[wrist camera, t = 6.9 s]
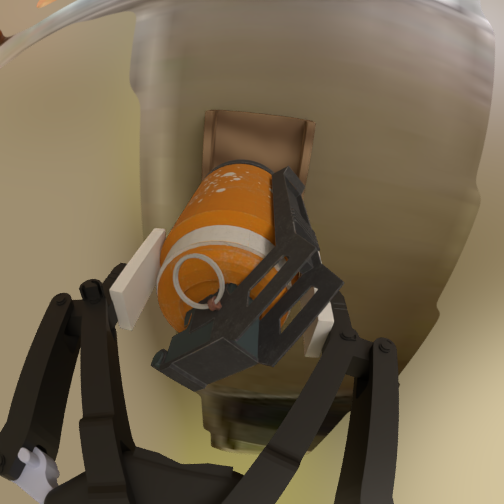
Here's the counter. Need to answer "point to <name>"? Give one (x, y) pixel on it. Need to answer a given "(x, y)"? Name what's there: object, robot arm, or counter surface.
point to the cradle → (257, 141)
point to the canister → (238, 274)
